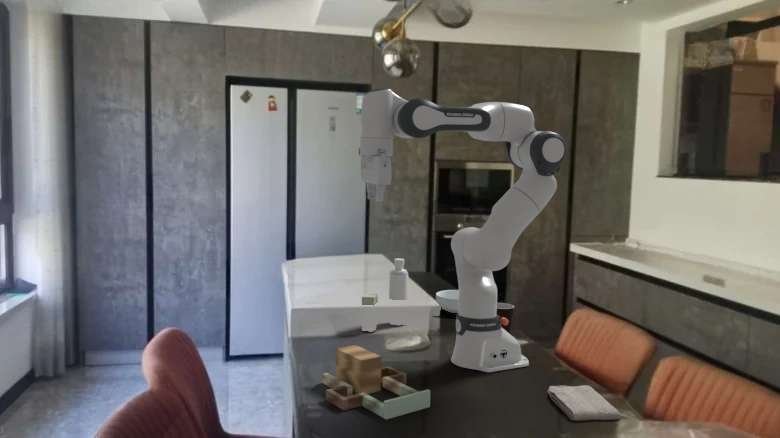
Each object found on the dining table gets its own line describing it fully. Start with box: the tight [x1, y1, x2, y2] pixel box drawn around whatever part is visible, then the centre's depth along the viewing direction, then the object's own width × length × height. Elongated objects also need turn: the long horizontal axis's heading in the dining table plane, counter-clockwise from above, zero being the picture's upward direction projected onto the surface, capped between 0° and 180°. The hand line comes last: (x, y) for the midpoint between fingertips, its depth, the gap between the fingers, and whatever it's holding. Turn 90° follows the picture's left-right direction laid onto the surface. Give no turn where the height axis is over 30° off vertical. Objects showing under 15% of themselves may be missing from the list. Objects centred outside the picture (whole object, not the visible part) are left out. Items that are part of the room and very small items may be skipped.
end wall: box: [383, 388, 432, 420], centre depth 145 cm, size 1×13×4 cm, turn 127°
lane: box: [321, 365, 420, 419], centre depth 157 cm, size 27×23×2 cm
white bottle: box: [388, 257, 409, 300], centre depth 223 cm, size 7×7×25 cm
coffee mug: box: [497, 302, 515, 335], centre depth 214 cm, size 12×9×10 cm
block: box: [335, 344, 382, 395], centre depth 161 cm, size 12×6×9 cm, turn 37°
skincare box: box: [361, 293, 379, 306], centre depth 215 cm, size 6×4×12 cm
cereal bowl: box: [435, 289, 459, 314], centre depth 244 cm, size 17×17×7 cm
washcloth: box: [547, 384, 621, 421], centre depth 152 cm, size 12×18×3 cm, turn 7°
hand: (375, 200), depth 171 cm, fingers open, 8 cm apart
